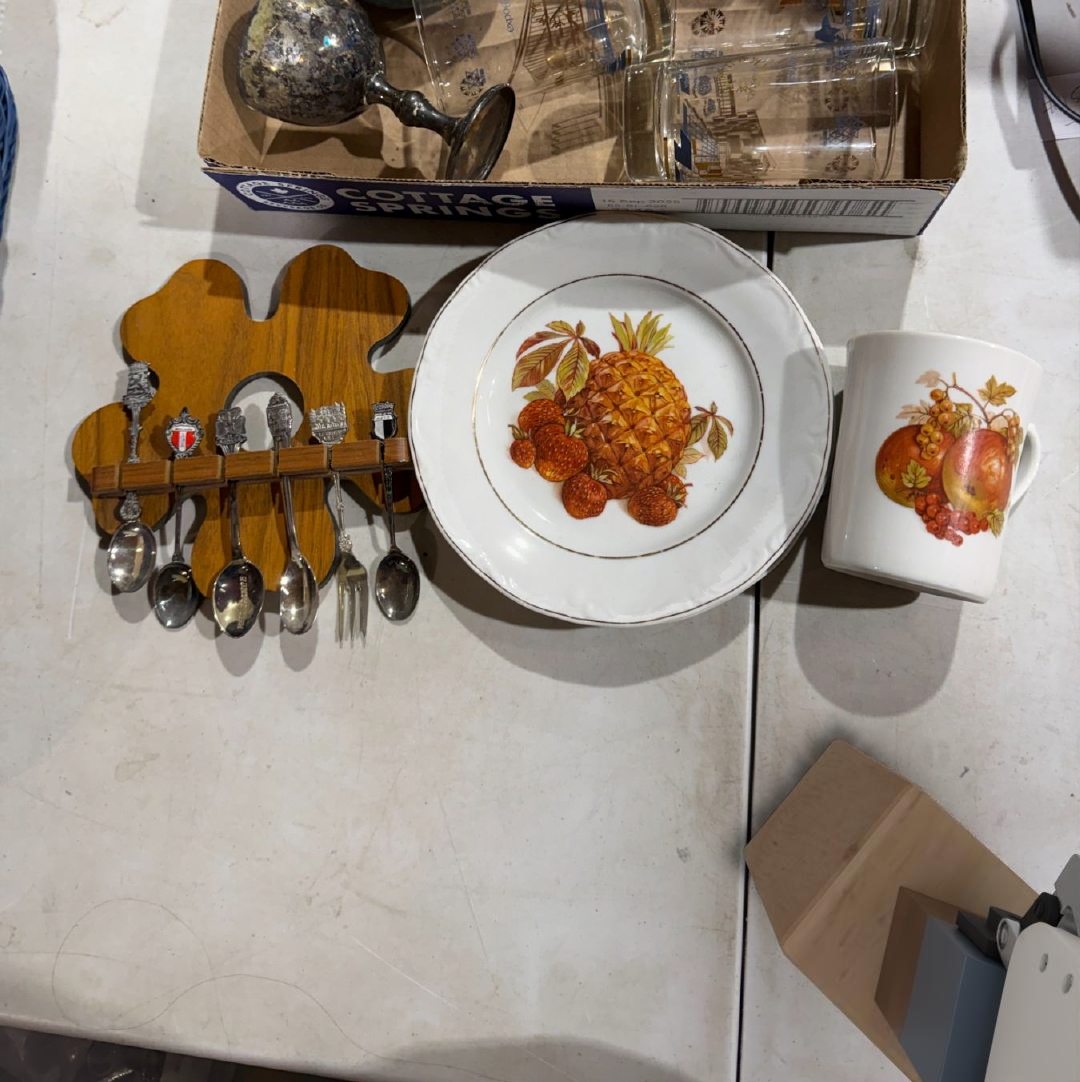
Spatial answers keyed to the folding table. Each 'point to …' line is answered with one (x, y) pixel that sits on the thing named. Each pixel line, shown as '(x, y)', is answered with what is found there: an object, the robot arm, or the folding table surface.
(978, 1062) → the slate cube
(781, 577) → the folding table surface
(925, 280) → the folding table surface
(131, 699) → the folding table surface
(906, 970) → the walnut cube
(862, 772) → the wooden block
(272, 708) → the folding table surface
